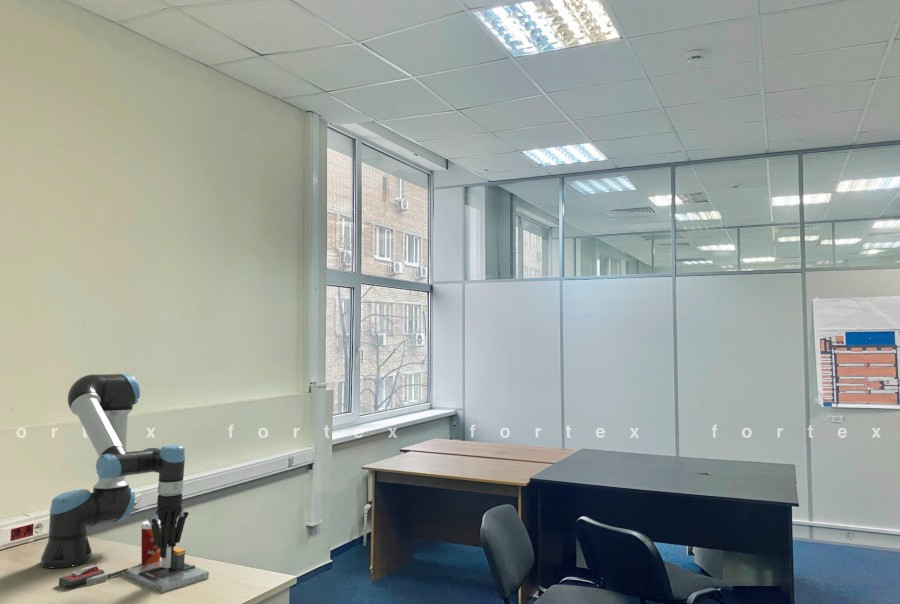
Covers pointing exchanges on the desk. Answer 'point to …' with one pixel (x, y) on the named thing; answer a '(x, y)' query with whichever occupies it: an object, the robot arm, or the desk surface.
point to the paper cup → (149, 544)
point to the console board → (166, 576)
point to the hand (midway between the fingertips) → (165, 567)
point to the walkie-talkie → (86, 577)
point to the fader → (178, 558)
